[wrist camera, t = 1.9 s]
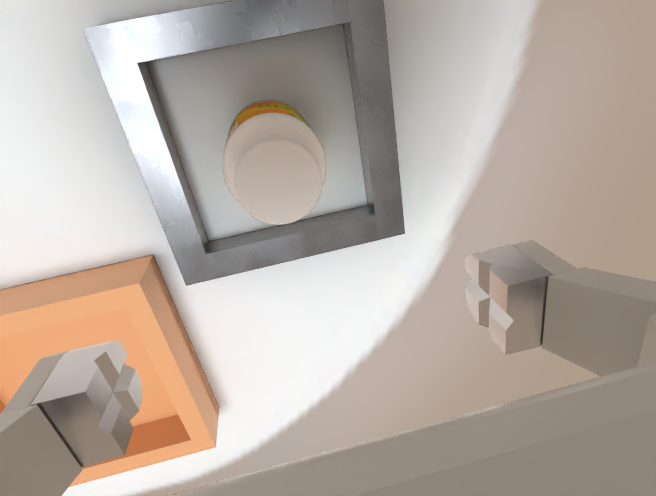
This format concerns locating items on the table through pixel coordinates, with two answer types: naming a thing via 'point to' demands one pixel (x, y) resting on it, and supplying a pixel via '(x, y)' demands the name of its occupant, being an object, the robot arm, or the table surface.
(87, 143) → the table surface
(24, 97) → the table surface
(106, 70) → the dark grey square frame
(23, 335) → the tray
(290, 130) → the supplement bottle
